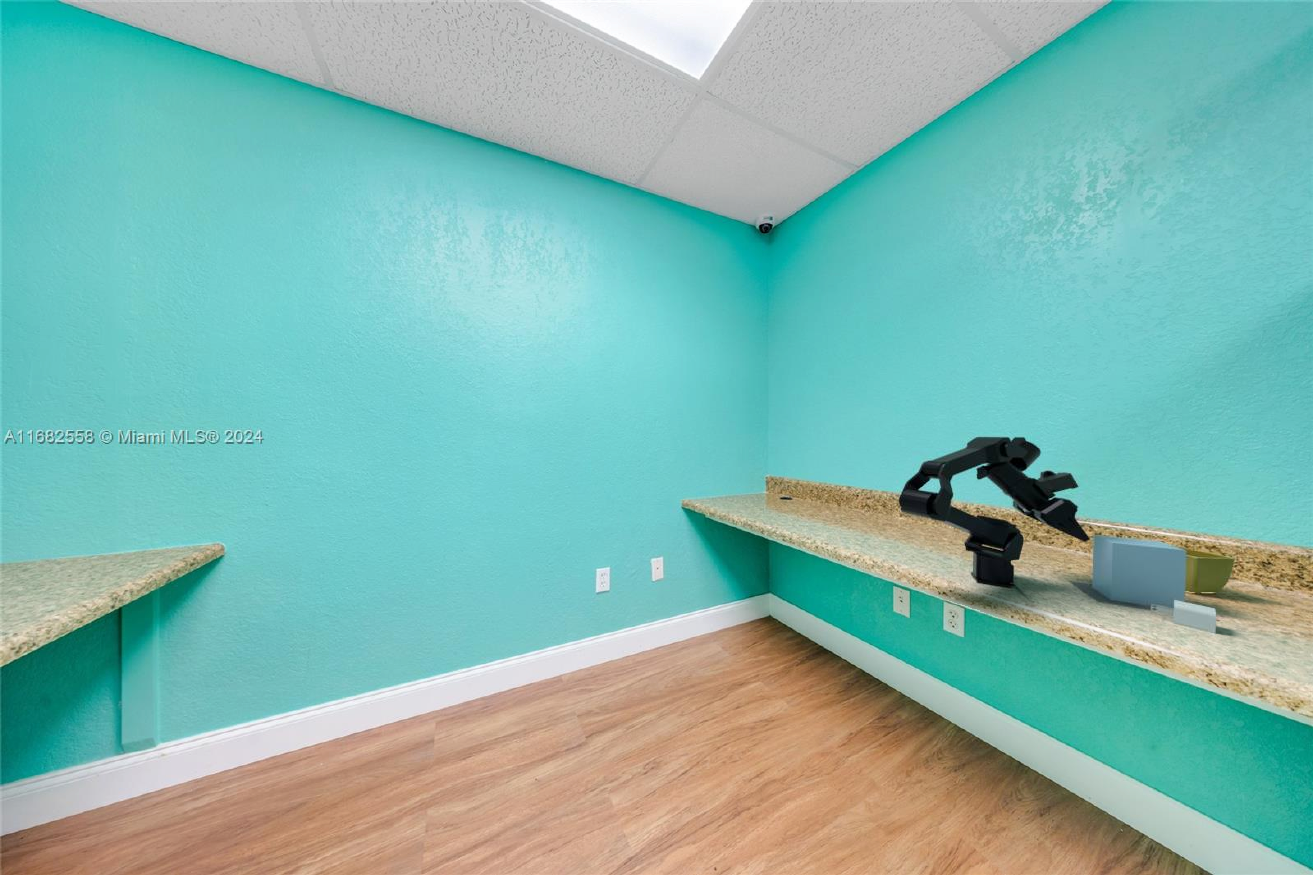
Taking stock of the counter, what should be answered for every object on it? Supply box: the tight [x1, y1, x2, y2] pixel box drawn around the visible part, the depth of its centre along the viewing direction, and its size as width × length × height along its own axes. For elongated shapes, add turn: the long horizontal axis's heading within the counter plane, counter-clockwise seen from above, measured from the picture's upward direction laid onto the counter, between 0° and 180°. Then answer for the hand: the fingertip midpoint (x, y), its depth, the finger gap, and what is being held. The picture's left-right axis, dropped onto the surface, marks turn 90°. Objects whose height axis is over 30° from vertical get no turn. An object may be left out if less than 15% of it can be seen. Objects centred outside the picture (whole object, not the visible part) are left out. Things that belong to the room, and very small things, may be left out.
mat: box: [1067, 580, 1221, 622], centre depth 80 cm, size 16×13×1 cm
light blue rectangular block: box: [1091, 534, 1186, 609], centre depth 80 cm, size 10×7×12 cm
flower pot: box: [1177, 546, 1236, 593], centre depth 86 cm, size 9×9×9 cm
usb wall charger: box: [1150, 600, 1217, 634], centre depth 70 cm, size 4×7×4 cm, turn 36°
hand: (1076, 535), depth 85 cm, fingers open, 9 cm apart
